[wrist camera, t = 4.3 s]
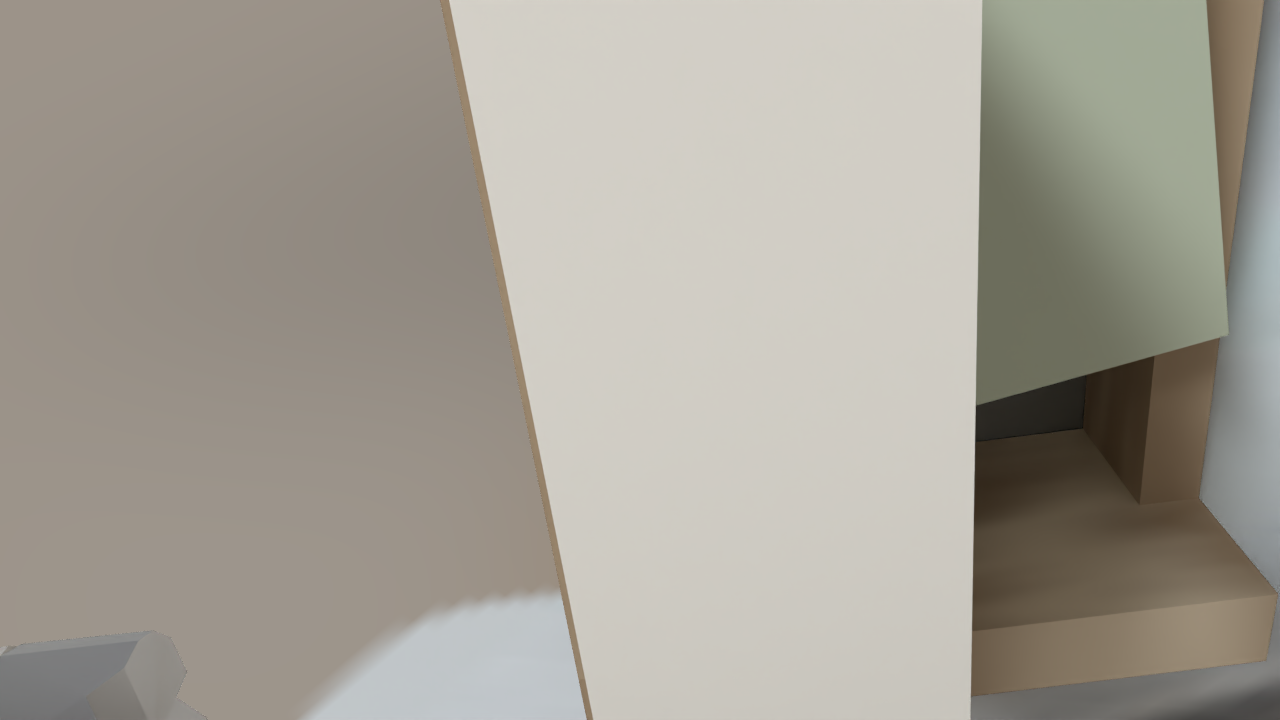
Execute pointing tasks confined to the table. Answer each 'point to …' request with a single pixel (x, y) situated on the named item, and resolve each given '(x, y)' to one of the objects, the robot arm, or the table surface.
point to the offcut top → (1094, 189)
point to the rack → (1086, 487)
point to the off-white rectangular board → (746, 339)
